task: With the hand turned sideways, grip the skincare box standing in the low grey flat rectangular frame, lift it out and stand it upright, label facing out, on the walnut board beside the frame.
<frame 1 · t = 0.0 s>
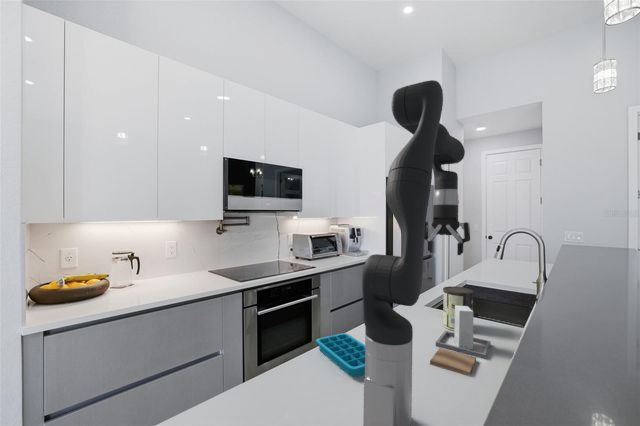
hand: (445, 253, 95), 29 cm above the countertop, tool pointing down, fingers open, 8 cm apart
walnut board: (453, 362, 83), on the countertop
grey flat rectangular frame: (463, 345, 95), on the countertop
ice cube tray: (348, 359, 85), on the countertop
coffee can: (457, 327, 110), on the countertop
skincare box: (463, 346, 95), resting in grey flat rectangular frame
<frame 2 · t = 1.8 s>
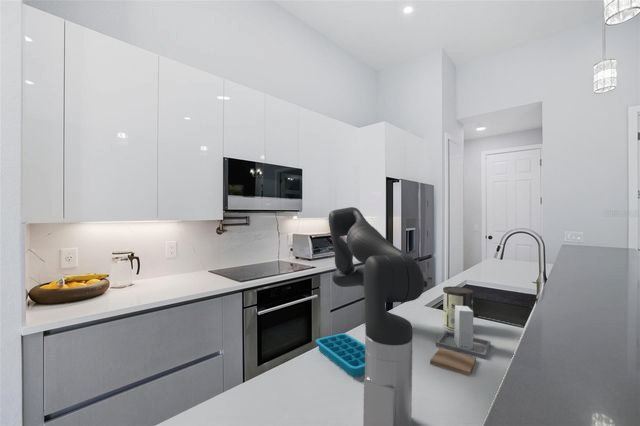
hand: (423, 286, 102), 17 cm above the countertop, tool horizontal, fingers open, 8 cm apart
nothing on the countertop moved.
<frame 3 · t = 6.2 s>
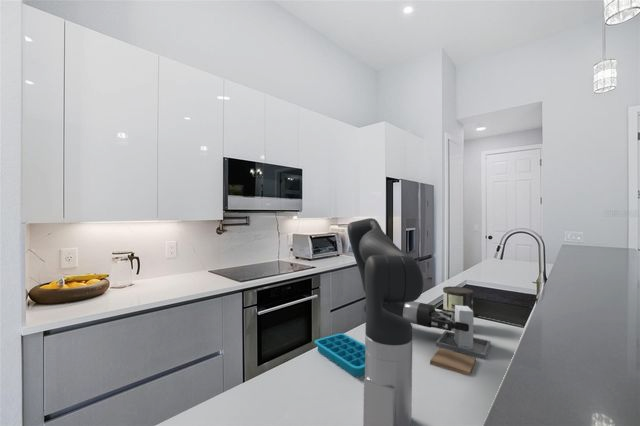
hand: (471, 324, 93), 7 cm above the countertop, tool horizontal, fingers closed on skincare box, 7 cm apart
skincare box: (463, 346, 95), resting in grey flat rectangular frame, touching gripper
everything else where it was.
when the fingers open (9 cm above the countertop, at t = 11.6 s): skincare box stays where it is, resting on walnut board.
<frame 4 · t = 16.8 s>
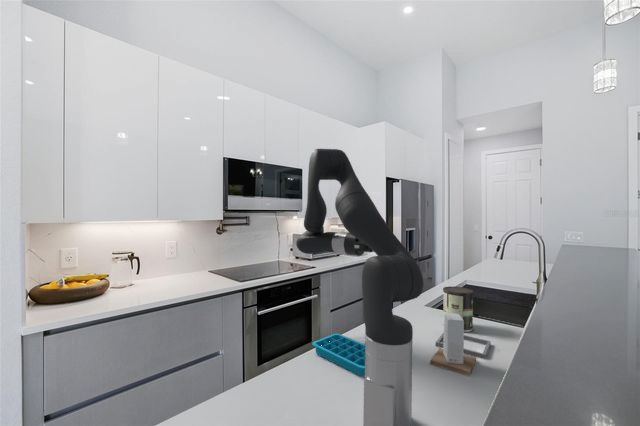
hand: (395, 247, 88), 32 cm above the countertop, tool horizontal, fingers open, 8 cm apart
skincare box: (453, 359, 83), point 1 cm above the countertop, touching walnut board
at the end: skincare box 0.2 cm off-centre on the walnut board, point 0.8 cm above the walnut board's base; skincare box tilted 0°; the gripper is holding nothing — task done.
